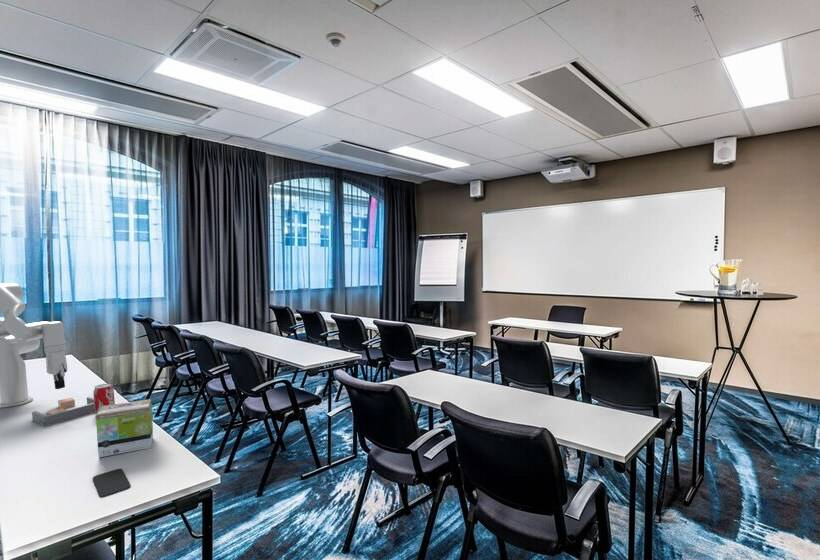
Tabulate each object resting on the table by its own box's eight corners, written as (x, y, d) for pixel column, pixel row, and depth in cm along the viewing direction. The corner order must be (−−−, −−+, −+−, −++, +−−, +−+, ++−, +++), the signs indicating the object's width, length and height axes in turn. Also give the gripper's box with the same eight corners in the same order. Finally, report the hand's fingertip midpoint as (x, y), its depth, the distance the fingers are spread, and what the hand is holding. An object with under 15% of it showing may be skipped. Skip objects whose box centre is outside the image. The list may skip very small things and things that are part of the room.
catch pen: (32, 420, 175) (31, 411, 174) (90, 404, 192) (89, 396, 192) (45, 425, 168) (44, 417, 168) (103, 409, 185) (102, 401, 185)
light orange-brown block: (46, 419, 176) (46, 412, 176) (61, 415, 180) (60, 408, 180) (52, 421, 173) (51, 414, 173) (67, 417, 178) (66, 410, 178)
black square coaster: (99, 497, 115) (91, 476, 126) (99, 500, 115) (92, 479, 126) (131, 486, 120) (121, 467, 131) (131, 489, 120) (121, 470, 131)
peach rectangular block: (58, 407, 190) (57, 400, 190) (72, 403, 194) (71, 397, 194) (60, 409, 187) (60, 402, 187) (75, 406, 191) (74, 399, 191)
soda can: (104, 417, 176) (102, 388, 175) (90, 416, 177) (88, 388, 176) (119, 410, 183) (117, 383, 182) (105, 410, 184) (103, 382, 183)
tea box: (98, 459, 138) (94, 415, 137) (103, 447, 147) (100, 405, 146) (151, 448, 145) (148, 406, 144) (154, 437, 154) (151, 397, 153)
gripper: (38, 349, 194) (43, 389, 195) (51, 351, 186) (56, 392, 187) (58, 346, 200) (63, 384, 201) (72, 347, 192) (77, 387, 193)
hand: (60, 388), depth 194 cm, fingers closed
